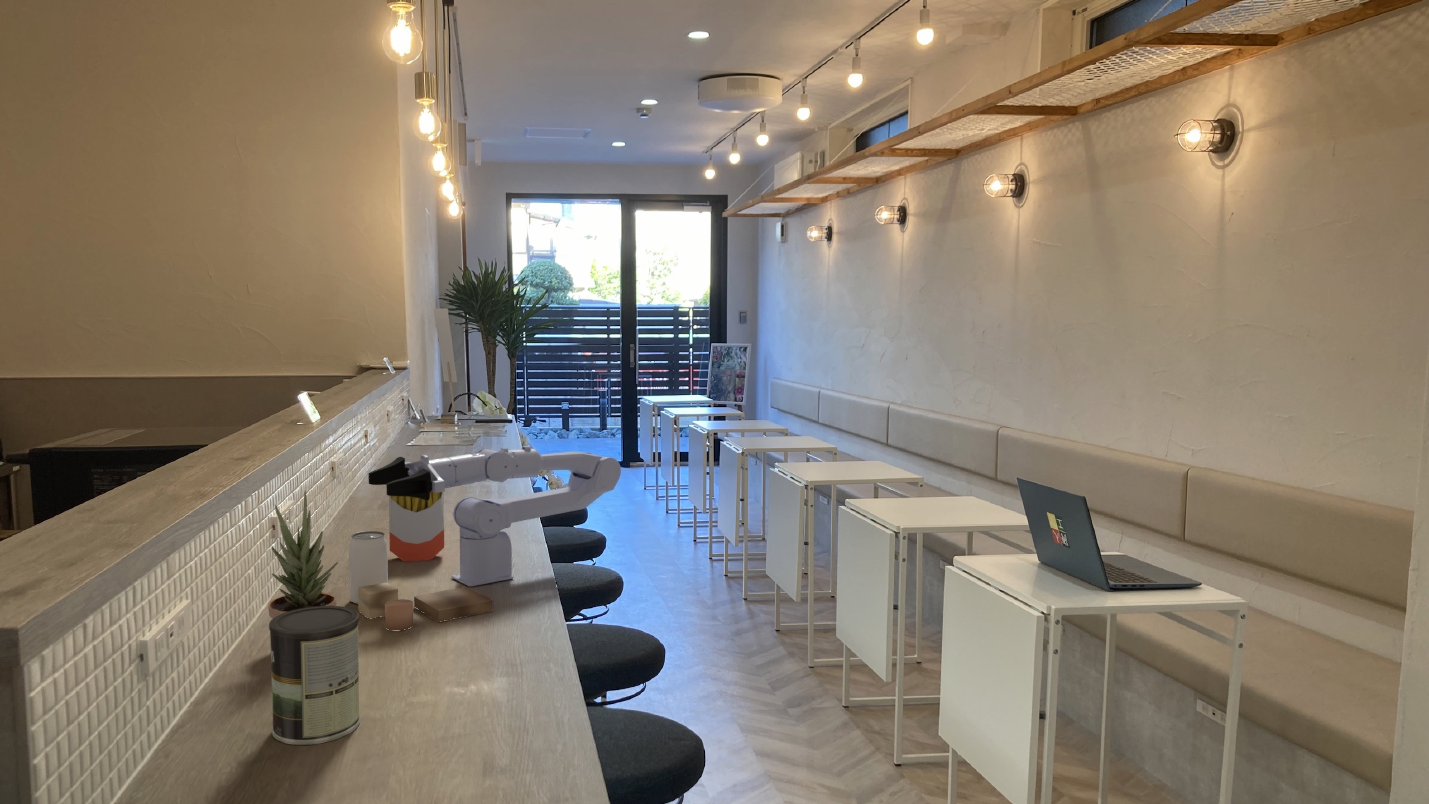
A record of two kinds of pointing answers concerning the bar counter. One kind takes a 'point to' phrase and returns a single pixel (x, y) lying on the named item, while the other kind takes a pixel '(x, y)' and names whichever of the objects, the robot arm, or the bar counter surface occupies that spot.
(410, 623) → the brown rounded piece
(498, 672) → the bar counter surface
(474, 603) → the board
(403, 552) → the french fries container
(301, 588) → the potted plant
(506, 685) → the bar counter surface
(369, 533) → the can
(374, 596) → the block
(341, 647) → the coffee can
